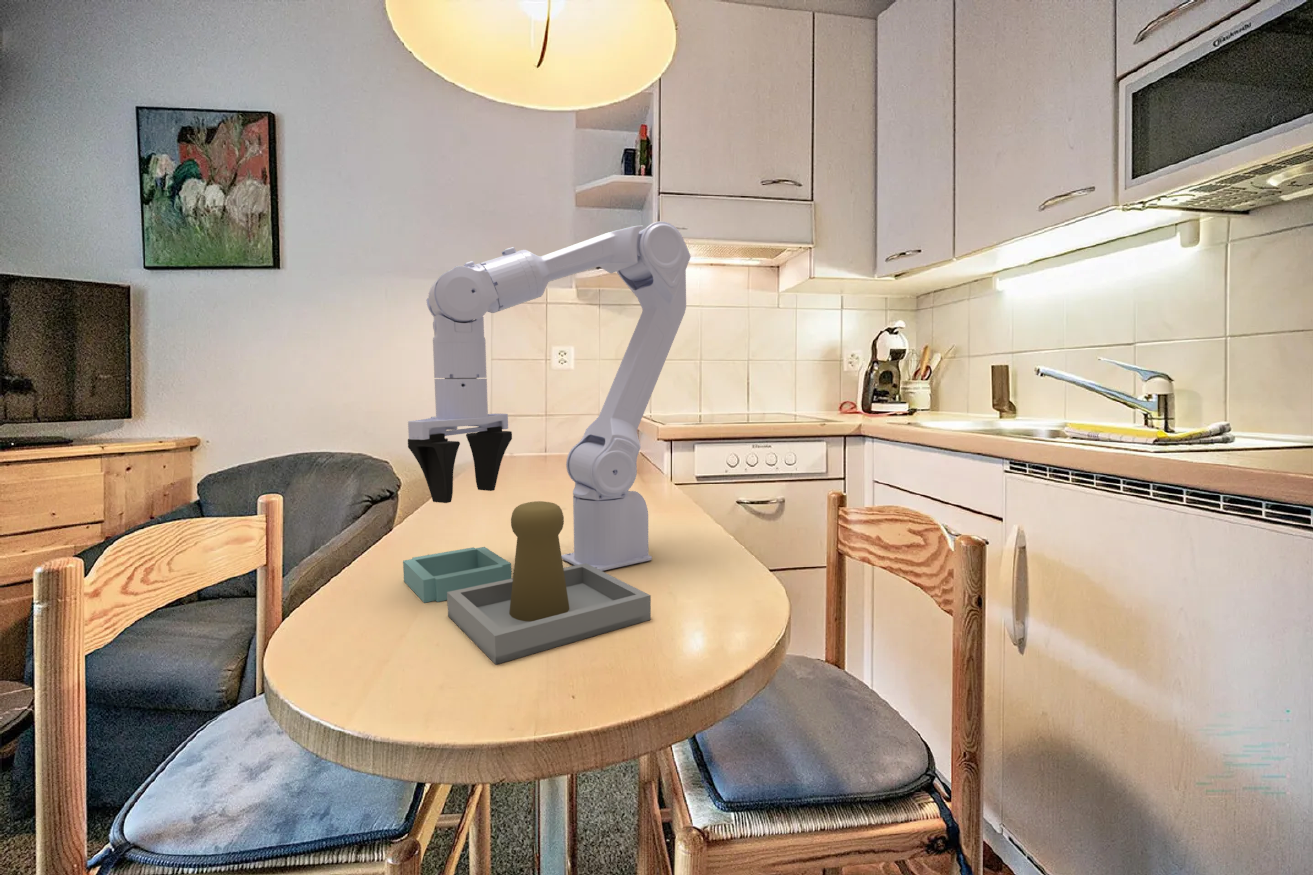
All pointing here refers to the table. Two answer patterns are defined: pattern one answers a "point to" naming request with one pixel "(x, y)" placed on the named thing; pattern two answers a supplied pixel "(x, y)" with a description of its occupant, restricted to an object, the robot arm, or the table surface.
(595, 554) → the robot arm
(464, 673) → the table surface
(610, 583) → the charcoal tray
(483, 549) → the teal collar
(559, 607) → the cork
